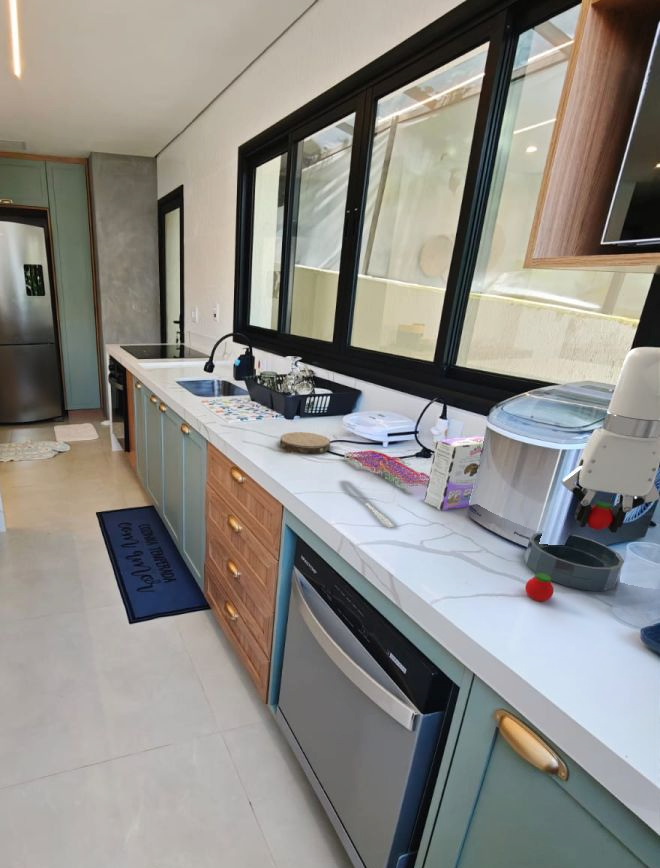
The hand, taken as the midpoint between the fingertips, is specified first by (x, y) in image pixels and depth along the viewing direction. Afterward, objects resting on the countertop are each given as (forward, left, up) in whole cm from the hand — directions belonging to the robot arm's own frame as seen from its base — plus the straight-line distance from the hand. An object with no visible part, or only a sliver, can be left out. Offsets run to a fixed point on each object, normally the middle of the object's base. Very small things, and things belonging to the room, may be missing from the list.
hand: (595, 525), depth 89 cm
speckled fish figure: (+36, -41, -11) cm, 56 cm away
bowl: (+1, -1, -11) cm, 11 cm away
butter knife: (+40, -17, -11) cm, 45 cm away
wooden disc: (+64, -56, -11) cm, 86 cm away
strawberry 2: (0, 0, 0) cm, 0 cm away
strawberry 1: (+8, +12, -11) cm, 18 cm away
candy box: (+20, -27, -11) cm, 36 cm away
